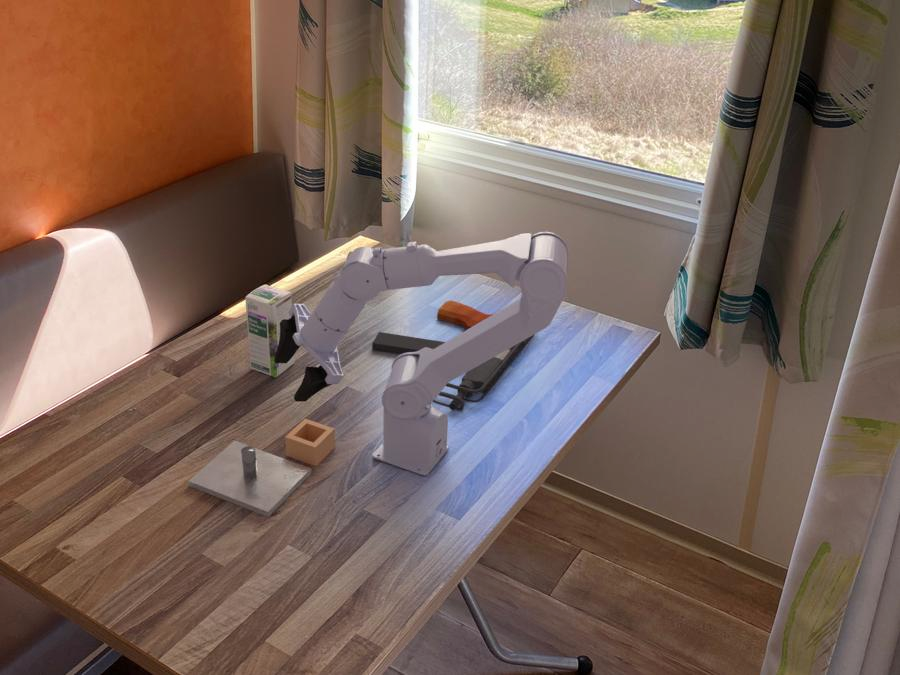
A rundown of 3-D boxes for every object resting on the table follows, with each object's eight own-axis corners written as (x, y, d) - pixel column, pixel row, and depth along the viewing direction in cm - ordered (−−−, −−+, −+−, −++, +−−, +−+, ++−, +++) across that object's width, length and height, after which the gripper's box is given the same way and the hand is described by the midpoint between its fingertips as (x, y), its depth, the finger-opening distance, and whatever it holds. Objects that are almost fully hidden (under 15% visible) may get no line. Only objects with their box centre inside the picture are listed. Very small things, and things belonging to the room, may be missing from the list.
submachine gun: (420, 289, 193) (539, 319, 184) (420, 301, 194) (538, 331, 185) (339, 366, 168) (472, 405, 159) (339, 380, 169) (471, 419, 161)
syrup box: (249, 369, 170) (243, 296, 162) (269, 353, 174) (264, 282, 167) (275, 378, 168) (271, 305, 160) (296, 362, 172) (292, 290, 165)
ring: (335, 447, 152) (334, 428, 150) (316, 466, 148) (315, 447, 146) (305, 436, 154) (305, 418, 152) (286, 455, 150) (285, 436, 148)
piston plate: (311, 473, 146) (309, 444, 143) (268, 517, 138) (266, 487, 135) (234, 445, 151) (232, 417, 149) (188, 486, 143) (185, 456, 140)
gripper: (290, 280, 141) (249, 344, 148) (331, 353, 134) (287, 417, 141) (328, 284, 146) (287, 345, 153) (370, 355, 139) (325, 416, 146)
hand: (289, 380), depth 147 cm, fingers open, 7 cm apart
